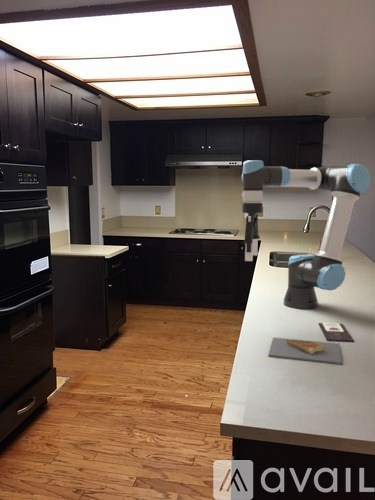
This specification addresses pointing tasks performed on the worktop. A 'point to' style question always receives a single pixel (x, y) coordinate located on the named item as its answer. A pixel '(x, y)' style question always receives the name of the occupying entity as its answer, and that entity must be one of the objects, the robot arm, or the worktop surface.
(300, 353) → the rubber mat
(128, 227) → the worktop surface
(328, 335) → the chocolate bar
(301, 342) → the shard
